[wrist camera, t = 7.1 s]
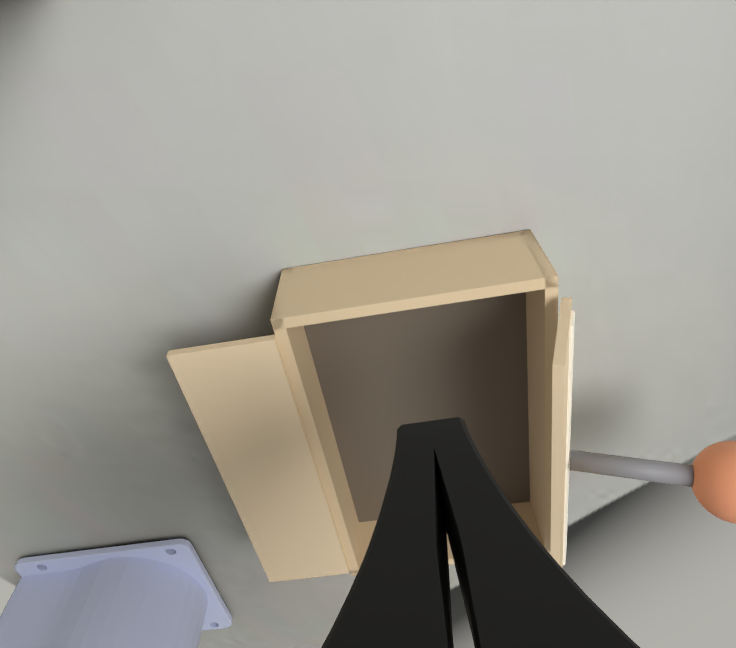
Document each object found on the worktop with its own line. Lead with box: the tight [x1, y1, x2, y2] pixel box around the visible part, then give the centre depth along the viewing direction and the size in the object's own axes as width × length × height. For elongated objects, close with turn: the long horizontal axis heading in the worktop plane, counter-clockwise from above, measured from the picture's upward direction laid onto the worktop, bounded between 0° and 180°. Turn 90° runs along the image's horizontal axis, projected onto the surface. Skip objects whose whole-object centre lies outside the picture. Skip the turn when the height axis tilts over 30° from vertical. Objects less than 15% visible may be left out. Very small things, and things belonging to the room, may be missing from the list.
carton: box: [166, 230, 558, 582], centre depth 23 cm, size 13×14×4 cm
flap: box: [550, 297, 736, 569], centre depth 19 cm, size 4×13×7 cm
